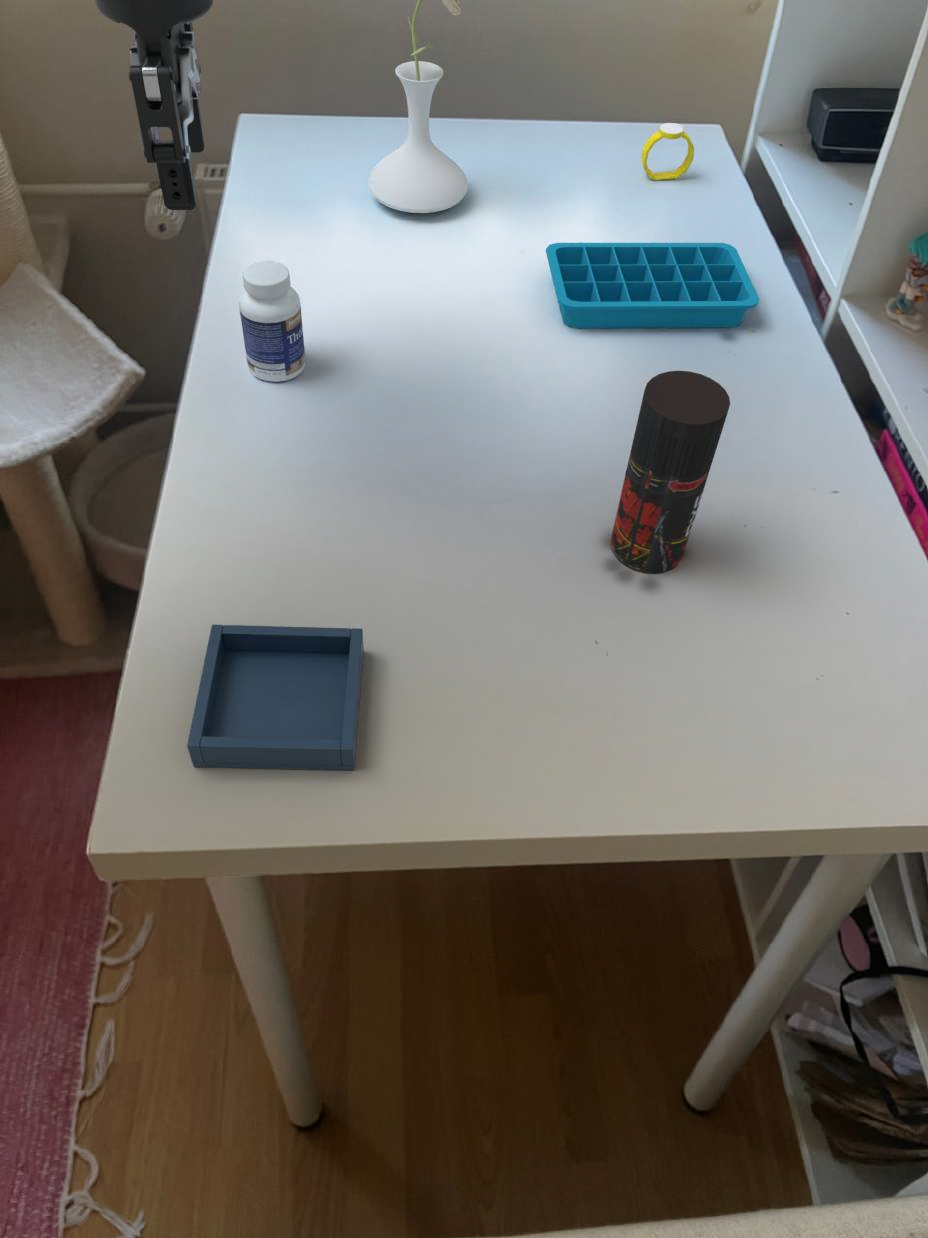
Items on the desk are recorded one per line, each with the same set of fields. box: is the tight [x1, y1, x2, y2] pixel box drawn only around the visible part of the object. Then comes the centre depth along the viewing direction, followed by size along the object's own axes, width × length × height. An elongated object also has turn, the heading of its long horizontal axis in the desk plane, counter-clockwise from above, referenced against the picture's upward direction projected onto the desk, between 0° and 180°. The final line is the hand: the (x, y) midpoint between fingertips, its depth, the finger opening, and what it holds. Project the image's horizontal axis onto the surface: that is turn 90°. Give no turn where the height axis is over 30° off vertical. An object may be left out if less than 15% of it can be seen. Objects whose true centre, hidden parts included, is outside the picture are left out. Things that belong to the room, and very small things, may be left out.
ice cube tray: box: [545, 242, 760, 329], centre depth 103 cm, size 12×20×3 cm, turn 94°
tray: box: [186, 624, 365, 771], centre depth 69 cm, size 11×10×3 cm
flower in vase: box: [367, 0, 469, 214], centre depth 106 cm, size 13×11×25 cm
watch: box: [640, 122, 695, 182], centre depth 118 cm, size 6×3×6 cm, turn 97°
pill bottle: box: [238, 260, 306, 382], centre depth 90 cm, size 5×5×10 cm
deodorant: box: [610, 370, 731, 575], centre depth 75 cm, size 6×6×15 cm
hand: (186, 177), depth 75 cm, fingers open, 8 cm apart
